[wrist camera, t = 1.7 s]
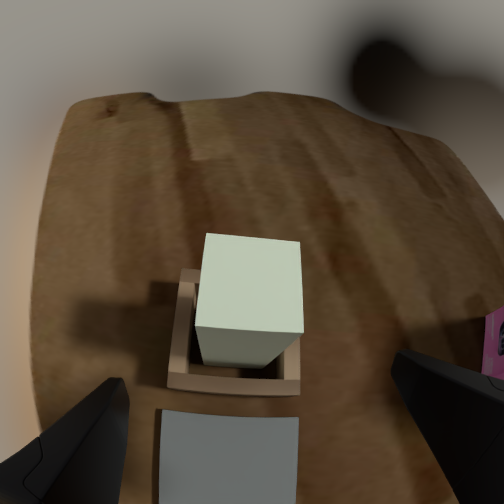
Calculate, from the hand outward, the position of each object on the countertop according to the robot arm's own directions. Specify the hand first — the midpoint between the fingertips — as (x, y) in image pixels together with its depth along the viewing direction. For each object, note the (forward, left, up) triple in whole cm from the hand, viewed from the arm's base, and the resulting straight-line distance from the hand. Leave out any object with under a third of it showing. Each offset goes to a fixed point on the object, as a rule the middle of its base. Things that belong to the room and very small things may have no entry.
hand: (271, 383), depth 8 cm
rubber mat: (-6, +1, -11) cm, 13 cm away
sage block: (+4, +1, -11) cm, 12 cm away
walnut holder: (+4, +1, -11) cm, 12 cm away
